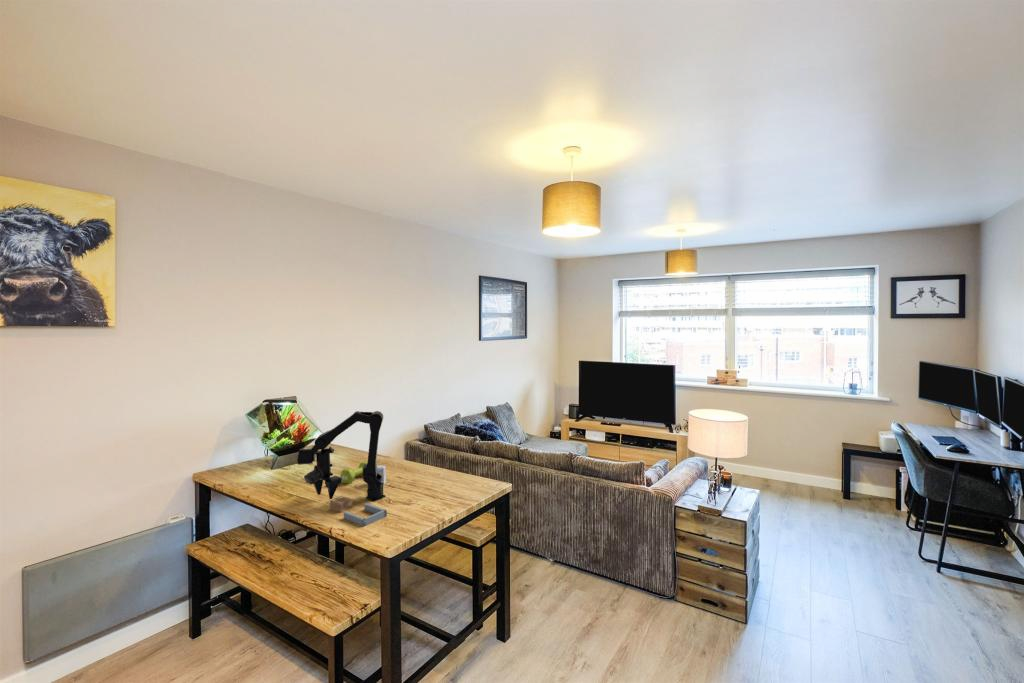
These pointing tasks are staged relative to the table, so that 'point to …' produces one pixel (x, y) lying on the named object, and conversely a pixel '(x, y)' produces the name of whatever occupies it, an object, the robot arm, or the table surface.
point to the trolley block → (341, 504)
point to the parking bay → (365, 521)
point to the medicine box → (382, 473)
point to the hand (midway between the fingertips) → (324, 496)
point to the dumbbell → (351, 473)
